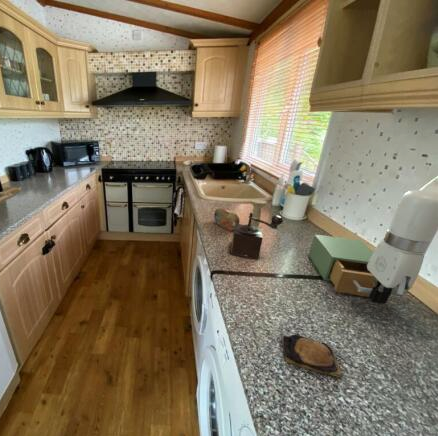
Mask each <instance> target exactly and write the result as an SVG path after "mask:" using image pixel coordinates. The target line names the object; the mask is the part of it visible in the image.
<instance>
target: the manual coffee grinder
mask: <svg viewBox="0 0 438 436" xmlns="http://www.w3.org/2000/svg"><path fill="white" fill-rule="evenodd" d="M252 219H253V220H255V221H258V222H259V223H261V224H264V225H266V226H268V227H270V228H271V229H274V230H277V229H278V226H279V225H282V224H283V223H284V219H283V217H281V216H280V215H272V216H271V223H269V222H267V221H265V220H262V219H260V220H259V219H256V218H253V213H252V212H249V215H248V223H247V224H242V223H239V224H235V227H234V230H233V233H232V237H231V238H232V239H231V244H230V255H232V256H235V257H241V258H247V259H248V258H249V259H254V260H255V259H256V260H259V258H260V252H261V247H262V243H263V239H264V235H263V230H262V227H260V226H258V227H256V226H252V225H251V220H252Z"/></svg>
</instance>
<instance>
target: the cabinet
mask: <svg viewBox="0 0 438 436" xmlns="http://www.w3.org/2000/svg"><path fill="white" fill-rule="evenodd" d="M373 252H374V250H372V248H370V247H369V246H368V245H366V243H365V242H363V241H362V240H361V239H358V238H357V239H356V238H349V237H348V238H347V237H340V236H331V235H321V234H314V236H313V239H312V243H311V246H310V248H309V253H308V257H309V259H310V260H311V262H312V264H313V265H314V266H315V268H316V269H317V271H318V273H319V274H320V276H321V277H322V280H323V281H325V282H326V281H327V282H332V281H331V279H330V278H329V273H330V270H331V267H332V265H333V262H334V259H335V260H343V261H350V262H358V263H365V264H368V262H369V260H370V258H371V256H372V254H373Z"/></svg>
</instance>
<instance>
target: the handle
mask: <svg viewBox="0 0 438 436" xmlns="http://www.w3.org/2000/svg"><path fill="white" fill-rule="evenodd" d="M250 204H251V205H252V206H253V209H252V212H251V213H253V218H256V219H259V220H261V215H262V208H263V207H265V206H267V201H266V200H262V199H251V200H250ZM251 225H252V226H256V227H260V222H258V221H255V220H253V219H252V220H251Z"/></svg>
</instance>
